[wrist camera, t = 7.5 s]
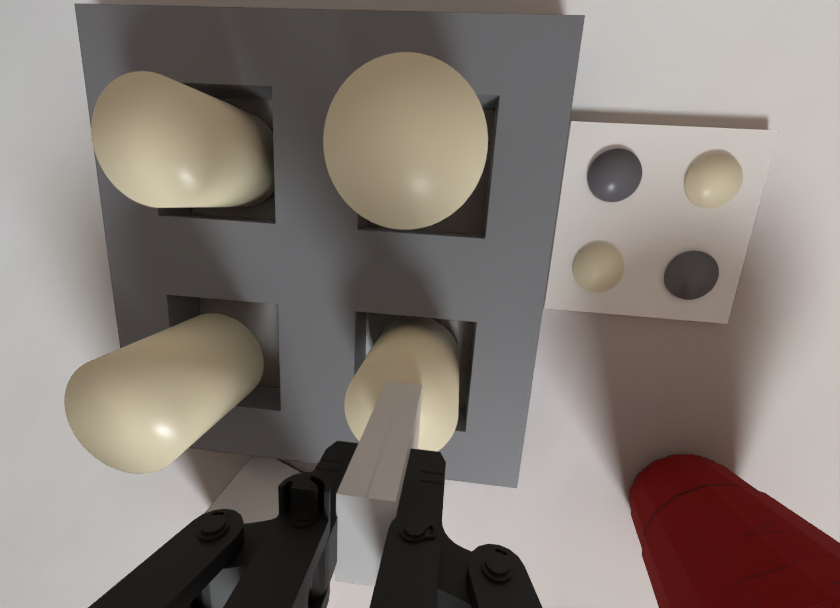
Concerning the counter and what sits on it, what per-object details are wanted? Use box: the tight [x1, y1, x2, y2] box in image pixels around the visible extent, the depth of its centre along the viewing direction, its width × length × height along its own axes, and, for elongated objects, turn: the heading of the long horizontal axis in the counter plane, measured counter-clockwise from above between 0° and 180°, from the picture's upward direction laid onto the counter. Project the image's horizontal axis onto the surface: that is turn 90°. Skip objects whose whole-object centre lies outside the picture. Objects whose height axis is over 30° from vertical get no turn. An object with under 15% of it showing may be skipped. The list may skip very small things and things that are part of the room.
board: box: [75, 4, 585, 488], centre depth 21 cm, size 22×22×2 cm
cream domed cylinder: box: [323, 52, 488, 230], centre depth 14 cm, size 5×5×6 cm
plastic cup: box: [630, 455, 840, 608], centre depth 17 cm, size 11×11×12 cm
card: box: [543, 121, 779, 324], centre depth 19 cm, size 9×9×1 cm
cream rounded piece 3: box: [344, 316, 460, 451], centre depth 19 cm, size 5×5×6 cm
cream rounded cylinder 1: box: [91, 71, 275, 208], centre depth 18 cm, size 5×5×6 cm
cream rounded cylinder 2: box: [65, 313, 264, 474], centre depth 18 cm, size 5×5×6 cm
